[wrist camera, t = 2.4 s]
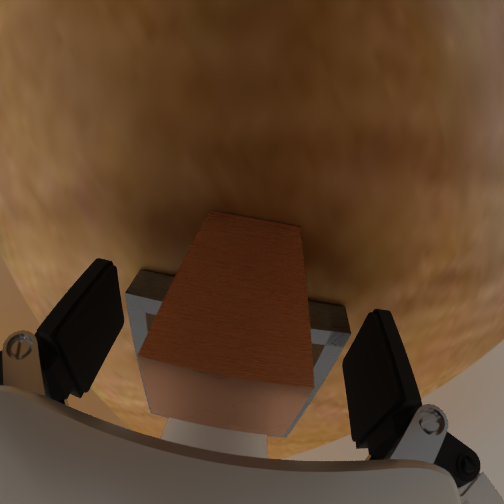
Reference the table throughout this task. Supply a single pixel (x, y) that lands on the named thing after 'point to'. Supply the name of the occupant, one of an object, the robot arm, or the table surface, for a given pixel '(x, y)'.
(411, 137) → the table surface
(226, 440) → the drinking glass
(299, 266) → the frame
